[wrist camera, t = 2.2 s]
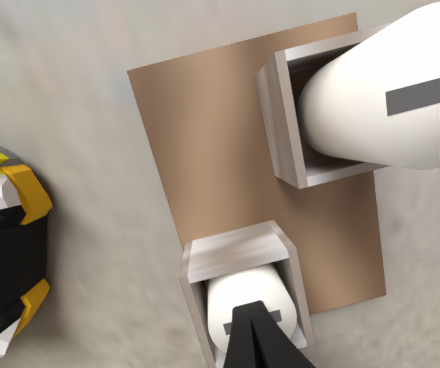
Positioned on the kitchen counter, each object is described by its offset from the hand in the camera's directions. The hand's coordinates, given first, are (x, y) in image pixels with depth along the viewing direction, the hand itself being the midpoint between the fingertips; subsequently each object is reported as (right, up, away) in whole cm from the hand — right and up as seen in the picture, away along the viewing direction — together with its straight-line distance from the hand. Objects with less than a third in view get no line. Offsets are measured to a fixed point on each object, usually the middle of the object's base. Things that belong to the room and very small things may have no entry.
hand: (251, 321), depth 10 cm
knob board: (+2, +6, +5) cm, 7 cm away
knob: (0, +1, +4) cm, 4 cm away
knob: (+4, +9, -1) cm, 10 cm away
